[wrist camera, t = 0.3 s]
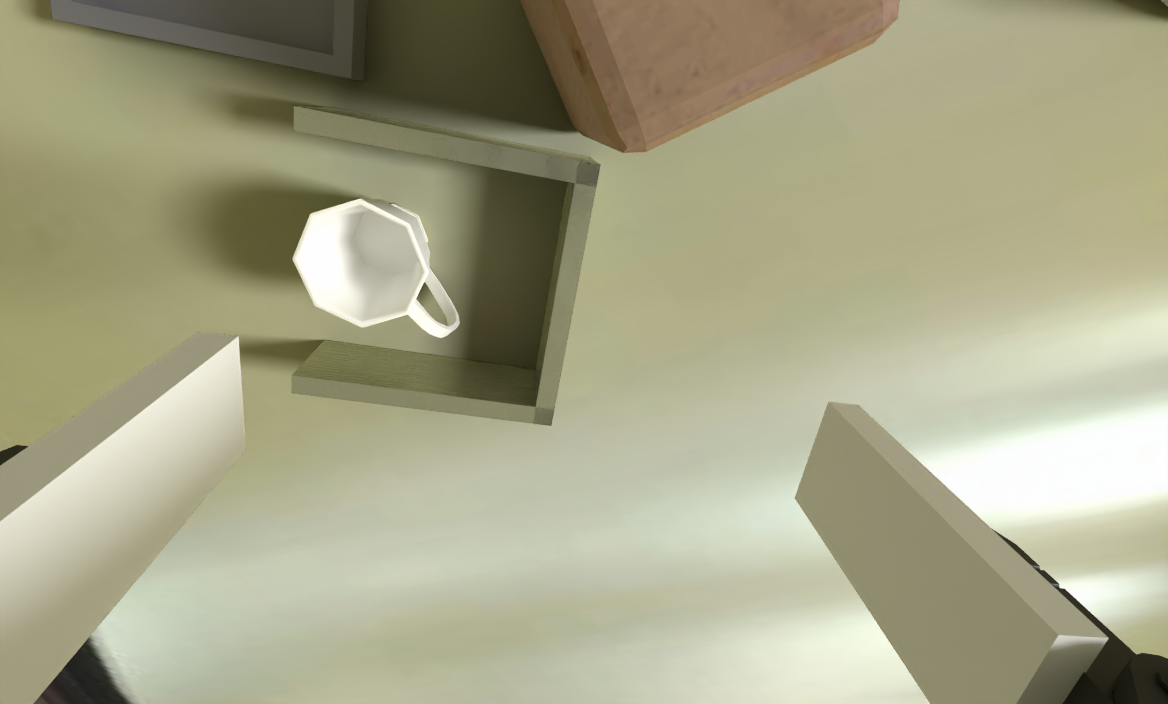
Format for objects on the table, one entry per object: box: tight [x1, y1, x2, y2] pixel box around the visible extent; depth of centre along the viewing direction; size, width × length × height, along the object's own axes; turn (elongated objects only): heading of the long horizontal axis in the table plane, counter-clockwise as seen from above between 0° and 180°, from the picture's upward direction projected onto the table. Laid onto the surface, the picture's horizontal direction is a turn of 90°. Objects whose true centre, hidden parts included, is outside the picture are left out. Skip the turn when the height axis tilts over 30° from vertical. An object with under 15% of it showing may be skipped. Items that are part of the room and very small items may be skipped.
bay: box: [292, 106, 600, 426], centre depth 37 cm, size 16×16×6 cm
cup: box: [292, 199, 460, 338], centre depth 35 cm, size 7×10×8 cm
